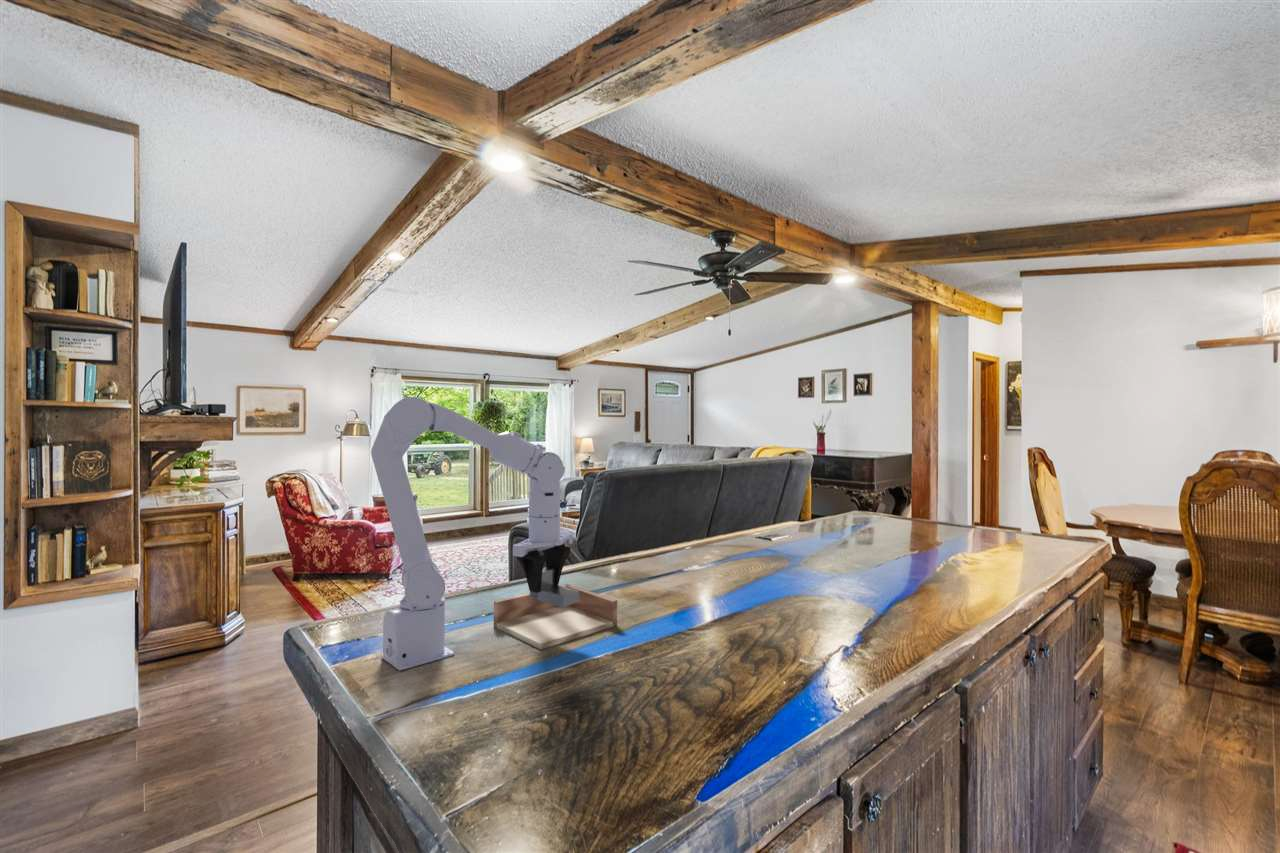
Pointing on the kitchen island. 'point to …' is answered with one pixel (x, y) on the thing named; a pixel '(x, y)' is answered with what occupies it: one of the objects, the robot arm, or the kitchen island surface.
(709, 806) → the kitchen island surface
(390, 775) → the kitchen island surface
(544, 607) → the corner arena
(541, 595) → the angle bracket
